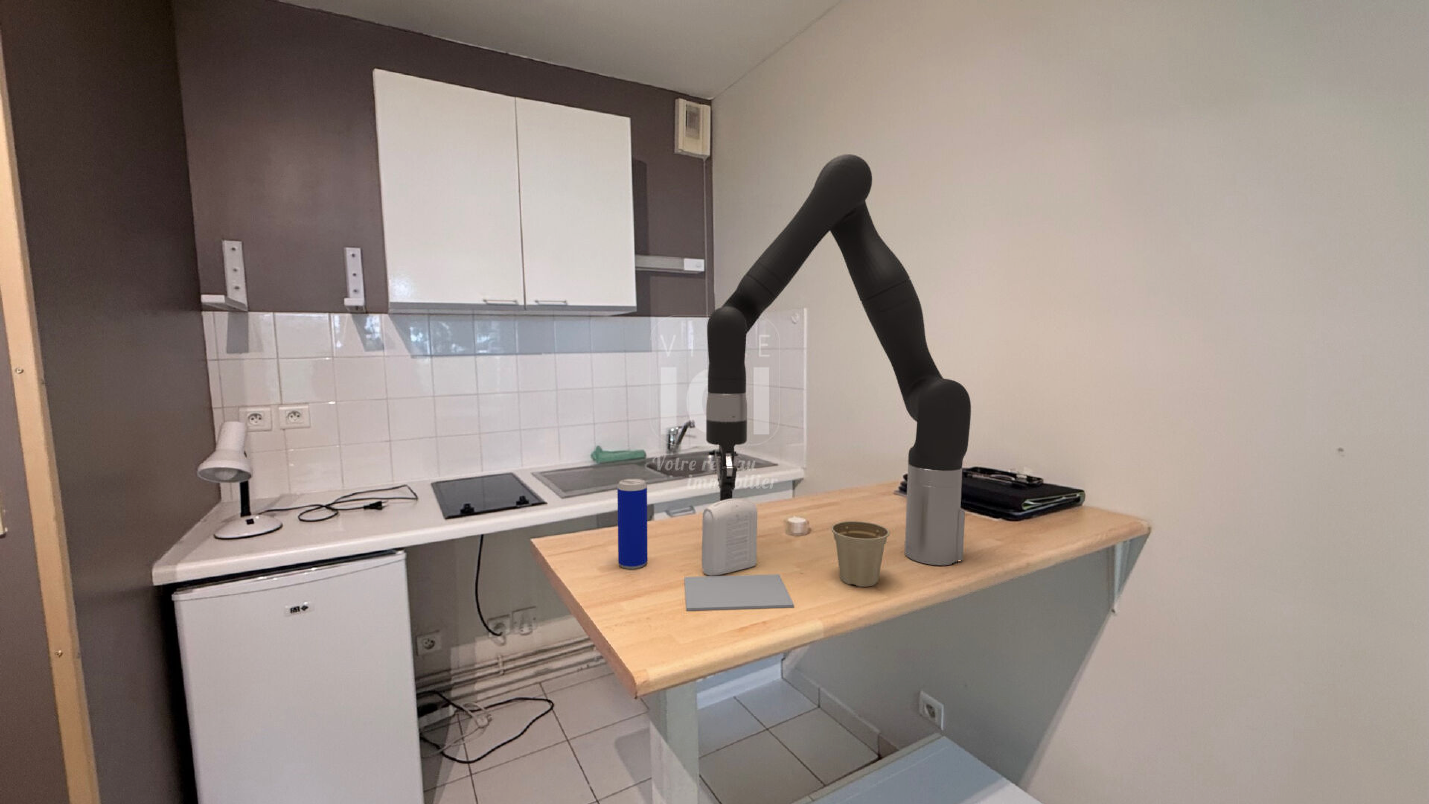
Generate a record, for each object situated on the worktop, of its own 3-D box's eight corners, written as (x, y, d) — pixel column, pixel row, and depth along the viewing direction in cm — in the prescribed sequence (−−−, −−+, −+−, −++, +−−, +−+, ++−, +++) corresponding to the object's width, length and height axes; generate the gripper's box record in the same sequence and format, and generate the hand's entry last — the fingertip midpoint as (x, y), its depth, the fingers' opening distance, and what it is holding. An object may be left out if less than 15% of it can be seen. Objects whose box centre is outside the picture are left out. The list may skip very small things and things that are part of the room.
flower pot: (817, 577, 91) (819, 527, 90) (853, 564, 97) (854, 517, 96) (863, 597, 84) (865, 543, 83) (899, 582, 89) (901, 531, 89)
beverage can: (653, 561, 97) (652, 480, 96) (637, 572, 93) (636, 486, 91) (629, 557, 100) (628, 477, 98) (612, 567, 95) (611, 483, 93)
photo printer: (745, 558, 99) (746, 492, 98) (760, 566, 96) (761, 498, 94) (698, 570, 93) (698, 501, 92) (711, 579, 90) (712, 507, 89)
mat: (779, 576, 91) (779, 574, 91) (794, 607, 80) (794, 604, 80) (684, 579, 90) (684, 576, 90) (686, 610, 79) (686, 608, 79)
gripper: (752, 421, 93) (750, 519, 95) (742, 413, 106) (741, 499, 108) (708, 422, 92) (708, 520, 94) (704, 413, 106) (703, 499, 107)
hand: (725, 509), depth 101 cm, fingers closed
